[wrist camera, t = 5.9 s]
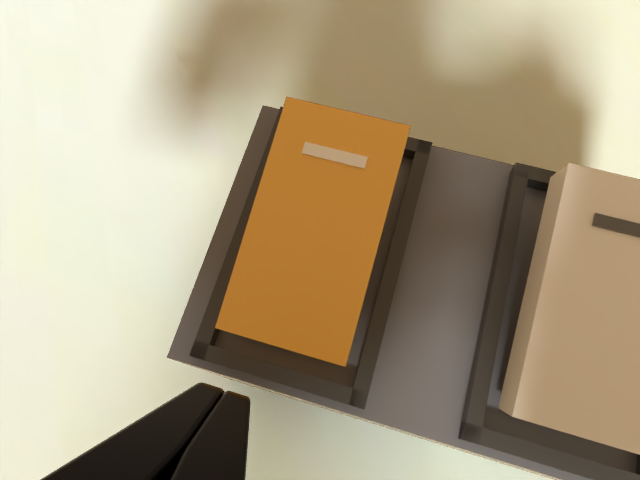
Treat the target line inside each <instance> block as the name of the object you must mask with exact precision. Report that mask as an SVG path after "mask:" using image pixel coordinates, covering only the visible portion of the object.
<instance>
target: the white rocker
mask: <svg viewBox="0 0 640 480" xmlns="http://www.w3.org/2000/svg"><path fill="white" fill-rule="evenodd" d="M498 408H499V409H500V410H502V411H504V412H505V413H507V414H508V415H510V416H512V417H515V418H518V419H521V420H525V421H528V422H531V423H535V424H538V425H541V426H545V427H548V428H551V429H555V430H558V431H562V432H565V433H568V434H572V435H575V436H578V437H582V438H585V439H588V440H592V441H595V442H598V443H602V444H605V445H608V446H612V447H615V448H619V449H622V450H625V451H629V452H632V453H635V454H639V455H640V179H636V178H632V177H627V176H623V175H619V174H614V173H610V172H606V171H602V170H597V169H593V168H589V167H585V166H580V165H576V164H572V163H568V164H567V165H565V166H564V167H563V168H561V169H560V170H559V171H558V172H556V173H555V174H554V175H553V176H551V177H550V181H549V186H548V190H547V195H546V199H545V203H544V208H543V212H542V217H541V221H540V225H539V230H538V234H537V239H536V243H535V247H534V252H533V256H532V261H531V265H530V269H529V274H528V278H527V283H526V287H525V291H524V296H523V300H522V305H521V309H520V313H519V318H518V322H517V327H516V331H515V335H514V340H513V344H512V349H511V353H510V357H509V362H508V366H507V371H506V375H505V379H504V384H503V388H502V393H501V397H500V402H499V406H498Z"/></svg>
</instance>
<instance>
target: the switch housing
mask: <svg viewBox="0 0 640 480" xmlns="http://www.w3.org/2000/svg"><path fill="white" fill-rule="evenodd" d="M282 110H283V107H280V109H276V108H272V107H267V106H263V107H262V109H261V112H260V114H259V117H258V120H257V122H256V125H255V128H254V130H253V133H252V135H251V138H250V141H249V143H248V146H247V149H246V151H245V154H244V156H243V159H242V162H241V164H240V167H239V170H238V172H237V175H236V177H235V180H234V183H233V185H232V188H231V191H230V193H229V196H228V198H227V201H226V204H225V206H224V209H223V212H222V214H221V217H220V219H219V222H218V225H217V227H216V230H215V233H214V235H213V238H212V240H211V243H210V246H209V248H208V251H207V254H206V256H205V259H204V261H203V264H202V267H201V269H200V272H199V275H198V277H197V280H196V282H195V285H194V288H193V290H192V293H191V296H190V298H189V301H188V303H187V306H186V309H185V311H184V314H183V317H182V319H181V322H180V324H179V327H178V330H177V332H176V335H175V338H174V340H173V343H172V345H171V348H170V351H169V353H168V356H167V358H170V359H173V360H176V361H179V362H182V363H185V364H187V365H190V366H193V367H196V368H199V369H202V370H205V371H208V372H211V373H214V374H217V375H220V376H223V377H225V378H228V379H232V380H235V381H238V382H241V383H245V384H248V385H251V386H254V387H257V388H261V389H264V390H267V391H270V392H274V393H277V394H280V395H283V396H286V397H290V398H293V399H296V400H299V401H303V402H306V403H309V404H312V405H316V406H319V407H322V408H325V409H328V410H332V411H335V412H338V413H341V414H345V415H348V416H351V417H354V418H357V419H361V420H364V421H367V422H370V423H374V424H377V425H380V426H383V427H387V428H390V429H393V430H396V431H399V432H403V433H406V434H409V435H412V436H416V437H419V438H422V439H425V440H428V441H432V442H435V443H438V444H441V445H445V446H448V447H451V448H454V449H458V450H461V451H464V452H467V453H470V454H474V455H477V456H480V457H483V458H487V459H490V460H493V461H496V462H499V463H503V464H506V465H509V466H512V467H516V468H519V469H522V470H525V471H529V472H532V473H535V474H538V475H541V476H545V477H548V478H551V479H555V480H640V455H639V454H635V453H632V452H629V451H625V450H622V449H619V448H615V447H612V446H608V445H605V444H602V443H598V442H595V441H592V440H588V439H585V438H582V437H578V436H575V435H572V434H568V433H565V432H562V431H558V430H555V429H551V428H548V427H545V426H541V425H538V424H535V423H531V422H528V421H525V420H521V419H518V418H515V417H512V416H510V415H508V414H507V413H505V412H504V411H502V410H500V409H499V408H498V406H499V402H500V397H501V393H502V388H503V384H504V379H505V375H506V371H507V366H508V362H509V357H510V353H511V349H512V344H513V340H514V335H515V331H516V327H517V322H518V318H519V313H520V309H521V305H522V300H523V296H524V291H525V287H526V283H527V278H528V274H529V269H530V265H531V261H532V256H533V252H534V247H535V243H536V239H537V234H538V230H539V225H540V221H541V217H542V212H543V208H544V203H545V199H546V195H547V190H548V186H549V181H550V177H551V176H553V175H554V174H555V173H556V172H553V171H549V170H545V169H541V168H537V167H532V166H528V165H524V164H520V163H516V164H515V165H511V164H507V163H502V162H498V161H494V160H490V159H486V158H481V157H477V156H473V155H469V154H465V153H460V152H456V151H452V150H448V149H444V148H439V147H435V146H432V143H431V142H427V141H423V140H419V139H415V138H410V137H408V138H407V143H406V146H405V150H404V154H403V157H402V161H401V165H400V169H399V172H398V176H397V180H396V183H395V187H394V191H393V195H392V198H391V202H390V206H389V209H388V213H387V217H386V220H385V224H384V228H383V232H382V235H381V239H380V243H379V246H378V250H377V254H376V258H375V261H374V265H373V269H372V272H371V276H370V280H369V283H368V287H367V291H366V295H365V298H364V302H363V306H362V309H361V313H360V317H359V321H358V324H357V328H356V332H355V335H354V339H353V343H352V346H351V350H350V354H349V358H348V361H347V364H346V367H344V366H341V365H337V364H334V363H331V362H327V361H324V360H321V359H317V358H314V357H310V356H307V355H304V354H300V353H297V352H294V351H290V350H287V349H284V348H280V347H277V346H274V345H270V344H267V343H264V342H260V341H257V340H253V339H250V338H247V337H243V336H240V335H237V334H233V333H230V332H227V331H223V330H220V329H217V328H215V326H216V323H217V320H218V317H219V313H220V310H221V307H222V304H223V300H224V297H225V294H226V291H227V287H228V284H229V281H230V278H231V275H232V271H233V268H234V265H235V262H236V258H237V255H238V252H239V249H240V246H241V242H242V239H243V236H244V233H245V229H246V226H247V223H248V220H249V217H250V213H251V210H252V207H253V204H254V200H255V197H256V194H257V191H258V188H259V184H260V181H261V178H262V175H263V171H264V168H265V165H266V162H267V158H268V155H269V152H270V149H271V146H272V142H273V139H274V136H275V133H276V129H277V126H278V123H279V120H280V117H281V113H282Z"/></svg>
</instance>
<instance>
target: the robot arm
mask: <svg viewBox="0 0 640 480" xmlns="http://www.w3.org/2000/svg"><path fill="white" fill-rule="evenodd" d="M249 416H250V399H249V397H247V396H244V395H240V394H237V393H234V392H231V391H227V392H225V393H224V391H223V390H222V389H221V388H218V387H215V386H212V385H208V384H205V383H198V384H196V385H194V386H193V387H191V388H189V389H188V390H186V391H184V392H183V393H181V394H180V395H178V396H176V397H175V398H173V399H171V400H170V401H168V402H166V403H165V404H163V405H162V406H160V407H158V408H157V409H155V410H153V411H152V412H150V413H149V414H147V415H145V416H144V417H142V418H140V419H139V420H137V421H135V422H134V423H132V424H131V425H129V426H127V427H126V428H124V429H122V430H121V431H119V432H117V433H116V434H114V435H113V436H111V437H109V438H108V439H106V440H104V441H103V442H101V443H100V444H98V445H96V446H95V447H93V448H91V449H90V450H88V451H86V452H85V453H83V454H82V455H80V456H78V457H77V458H75V459H73V460H72V461H70V462H69V463H67V464H65V465H64V466H62V467H60V468H59V469H57V470H55V471H54V472H52V473H51V474H49V475H47V476H46V477H44V478H42V479H41V480H245V477H246V462H247V446H248V431H249Z"/></svg>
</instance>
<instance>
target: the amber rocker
mask: <svg viewBox="0 0 640 480" xmlns="http://www.w3.org/2000/svg"><path fill="white" fill-rule="evenodd" d="M409 130H410V126H409V125H405V124H401V123H396V122H392V121H388V120H384V119H379V118H375V117H371V116H367V115H362V114H358V113H354V112H350V111H345V110H341V109H337V108H333V107H328V106H324V105H320V104H315V103H311V102H307V101H303V100H298V99H294V98H290V97H286V100H285V104H284V107H283V110H282V113H281V117H280V120H279V123H278V126H277V129H276V133H275V136H274V139H273V142H272V146H271V149H270V152H269V155H268V158H267V162H266V165H265V168H264V171H263V175H262V178H261V181H260V184H259V188H258V191H257V194H256V197H255V200H254V204H253V207H252V210H251V213H250V217H249V220H248V223H247V226H246V229H245V233H244V236H243V239H242V242H241V246H240V249H239V252H238V255H237V258H236V262H235V265H234V268H233V271H232V275H231V278H230V281H229V284H228V287H227V291H226V294H225V297H224V300H223V304H222V307H221V310H220V313H219V317H218V320H217V323H216V326H215V328H217V329H220V330H223V331H227V332H230V333H233V334H237V335H240V336H243V337H247V338H250V339H253V340H257V341H260V342H264V343H267V344H270V345H274V346H277V347H280V348H284V349H287V350H290V351H294V352H297V353H300V354H304V355H307V356H310V357H314V358H317V359H321V360H324V361H327V362H331V363H334V364H337V365H341V366H344V367H346V364H347V361H348V358H349V354H350V350H351V346H352V343H353V339H354V335H355V332H356V328H357V324H358V321H359V317H360V313H361V309H362V306H363V302H364V298H365V295H366V291H367V287H368V283H369V280H370V276H371V272H372V269H373V265H374V261H375V258H376V254H377V250H378V246H379V243H380V239H381V235H382V232H383V228H384V224H385V220H386V217H387V213H388V209H389V206H390V202H391V198H392V195H393V191H394V187H395V183H396V180H397V176H398V172H399V169H400V165H401V161H402V157H403V154H404V150H405V146H406V143H407V138H408V134H409Z"/></svg>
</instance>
